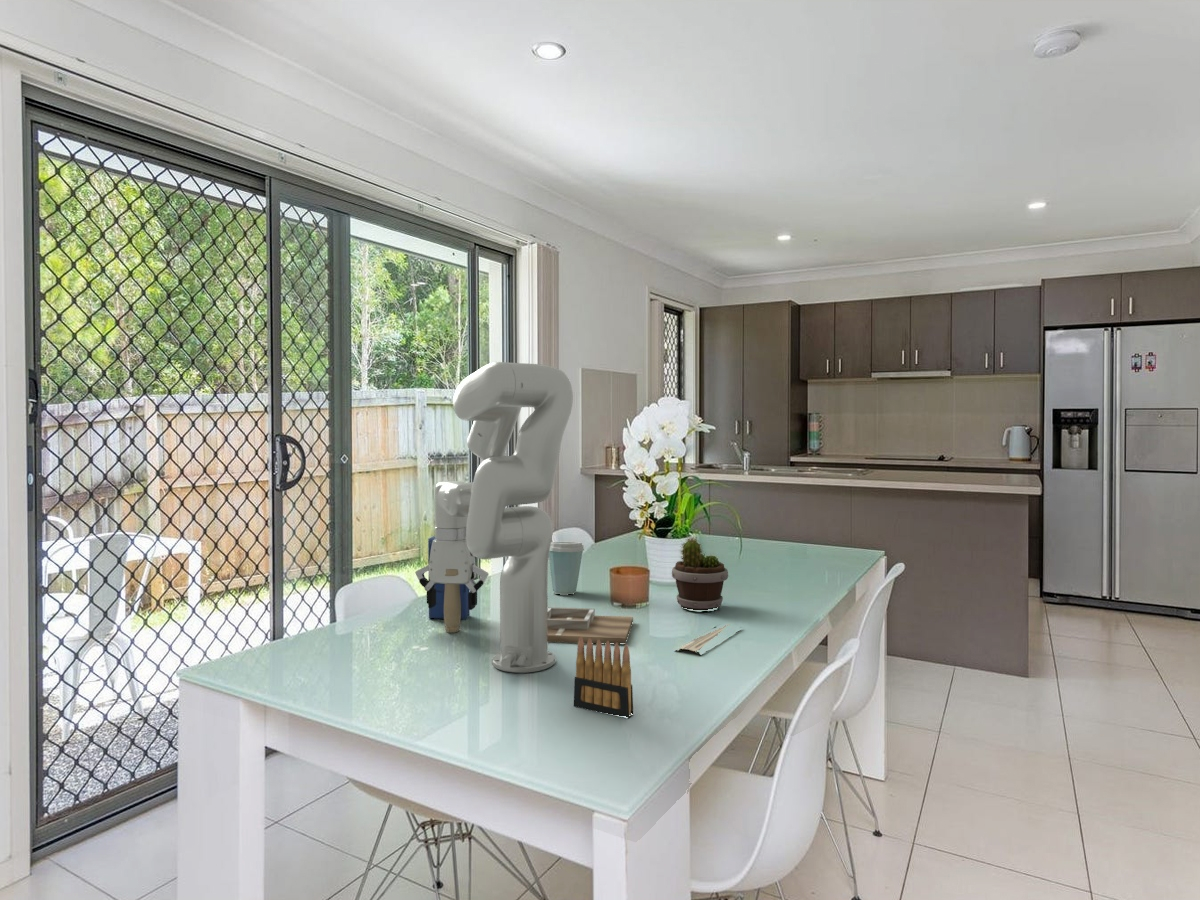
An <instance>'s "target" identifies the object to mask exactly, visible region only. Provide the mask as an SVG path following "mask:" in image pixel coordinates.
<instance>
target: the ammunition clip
mask: <svg viewBox="0 0 1200 900" xmlns="http://www.w3.org/2000/svg"><path fill="white" fill-rule="evenodd" d="M604 645H605V646H604V652H603V646H602V644H601V642H600V640H599V639H598V641H597V644H595V651H594V644H592V640H591V638H589V639H588V642H587V643H586V650H585V643H584V642H583V639H582V636H580V638H579V641H578V643H577V651H576V661H575V676H574V682H573V683H574V685H573V689H574V690H573V707H575V708H579V709H583V710H587V709H588V711H591V710H592V711H591V712H596V711H597V712H596V713H600V712H602V713H601V714H604V713H608V714H613V715H619V716H626V717H629V715H631V713H632V714H633V715H634V697H633V696H634V695H633V694H634V692H633V684H632V669H631V661H630V659H631V657H630V649H629V645H628V644H627V643H626V644H625V645H623V646H624V647H623V650H622V651H623V652H622V663H621V650H620V645H618V643H617V642H616V644H615V645H614V649H613V654H612V649H611V644H610V643H609V641H607V642H606V644H604ZM585 651H586V653H585ZM594 653H595V655H594ZM603 653H604V656H603ZM612 655H613V656H612ZM612 657H613V659H612ZM608 714H607V715H608ZM613 715H612V716H613Z"/></svg>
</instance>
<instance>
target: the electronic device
mask: <svg viewBox="0 0 1200 900" xmlns="http://www.w3.org/2000/svg"><path fill="white" fill-rule="evenodd" d="M433 540H435V536H431V537H429V538H427V541H428V549H427V550H428V556H427V557H428V558H427V559H428V561H427V562H428V564H427V565H429V560H430V552H431V546H432V542H433ZM428 581H430V580H429V579H428ZM434 588H435V589H436V605H435V606H434V607H432V608H428V619H429V618H434V620H444V592H445V584H440V583H437V584H436V585H435V586H434ZM469 592H470V590H469V589H468V587H467V586H466V585H465V584H460V600H461V619H460V620H462V619H465V620H466V619H468V618H469V617H470V615H471V613H470V611H471V610H469V609H468V593H469Z"/></svg>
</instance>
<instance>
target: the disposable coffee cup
mask: <svg viewBox="0 0 1200 900" xmlns="http://www.w3.org/2000/svg"><path fill="white" fill-rule="evenodd" d="M584 551H585V547H584V545H583V542H582V541H580V542H579V541H563V540H562V541H551V545H550V551H549V558H548V562H549V568H550V576H551V578H550V579H551V585H552V591H553V594H554V593H555V595H556V594H560V595H559V596H568V595H567V594H573V593H575V594H576V592H577V588H578V582H579V576H580V571H581V565H582V557H583V554H584V553H583V552H584ZM573 595H574V594H573Z"/></svg>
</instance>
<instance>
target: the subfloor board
mask: <svg viewBox="0 0 1200 900" xmlns="http://www.w3.org/2000/svg"><path fill="white" fill-rule="evenodd" d="M632 622H633V623H634V616H615V615H596V614H595V608H586V607H585V608H583V607H582V608H581V607H557V606H555V607H551V606H548V643H564V642H568V643H570V644H578V641H579V638H580V636H582V639H583V642H584V644H587V642H588V639H589V638H591V640H592V643H597V641H598V639H599V640H600V642H601V643H606V642H607V641H609V643H614V644H616V642H617V643H618V644H620V643H626V644H627V642H626V640H627V641H628V639H627V637H628V638H629V636H628V634H629V635H630V633H629V631H630V632H631V630H630V628H631V629H632V627H631V625H632V626H633V624H632Z"/></svg>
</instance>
